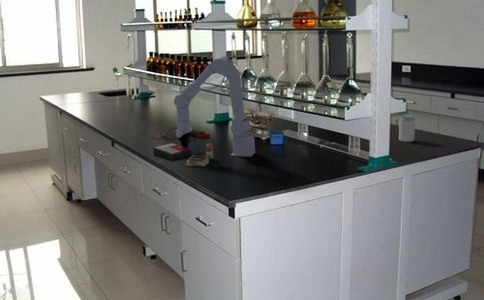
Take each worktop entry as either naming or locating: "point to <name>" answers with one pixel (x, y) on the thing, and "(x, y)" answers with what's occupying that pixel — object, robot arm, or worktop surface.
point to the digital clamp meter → (194, 135)
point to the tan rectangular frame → (197, 160)
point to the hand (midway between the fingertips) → (185, 149)
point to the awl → (209, 151)
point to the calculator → (172, 151)
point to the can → (406, 128)
